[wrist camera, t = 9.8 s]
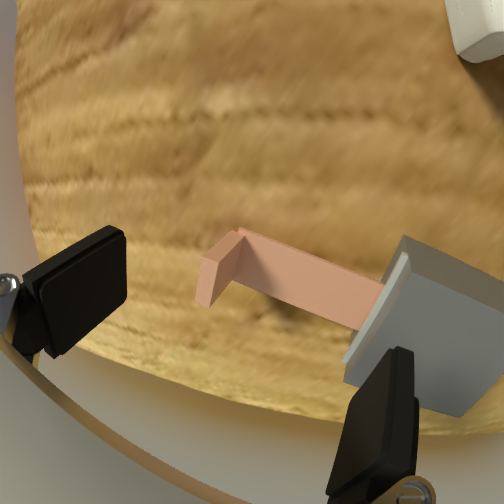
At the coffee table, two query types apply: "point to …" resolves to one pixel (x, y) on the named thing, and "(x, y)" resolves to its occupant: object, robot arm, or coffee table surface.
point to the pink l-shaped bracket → (287, 277)
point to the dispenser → (435, 328)
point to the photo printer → (477, 28)
